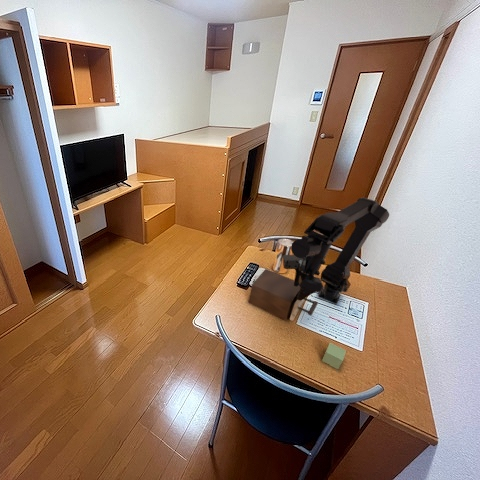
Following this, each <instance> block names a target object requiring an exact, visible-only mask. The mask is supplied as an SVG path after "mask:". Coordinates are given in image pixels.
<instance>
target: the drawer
mask: <svg viewBox="0 0 480 480" xmlns="http://www.w3.org/2000/svg"><path fill="white" fill-rule="evenodd" d="M298 293H299V292H298ZM298 293H297V295H296V296H295V298H294V299H293V301H292V302H291V306H290V309H289V311H290V310H291V308H292V307H293V305H294V307H293V309H292V311H291V313H290V315H289V316H290V317H289V320H290V321H291V322H293V321H294V320H295V318H296V316H297V315H298V313H299V312H300V311H303V312H305V313H307V314H308V316H312V315H313V314H314V312H315V310H316V308H317V307H318V305H319V302H318V301H317V300H312V299H309V298H308V297H306V298H304V299H303V300H301V301H300V300H298V299H297V296H298ZM296 299H297V301H296ZM305 301H306V302H308V303H310V304H312V305H311V306H310V308H309V310H308V309H305V308H303V307H302V306H303V305H304V302H305ZM294 303H295V304H294ZM288 313H289V312H288Z"/></svg>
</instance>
